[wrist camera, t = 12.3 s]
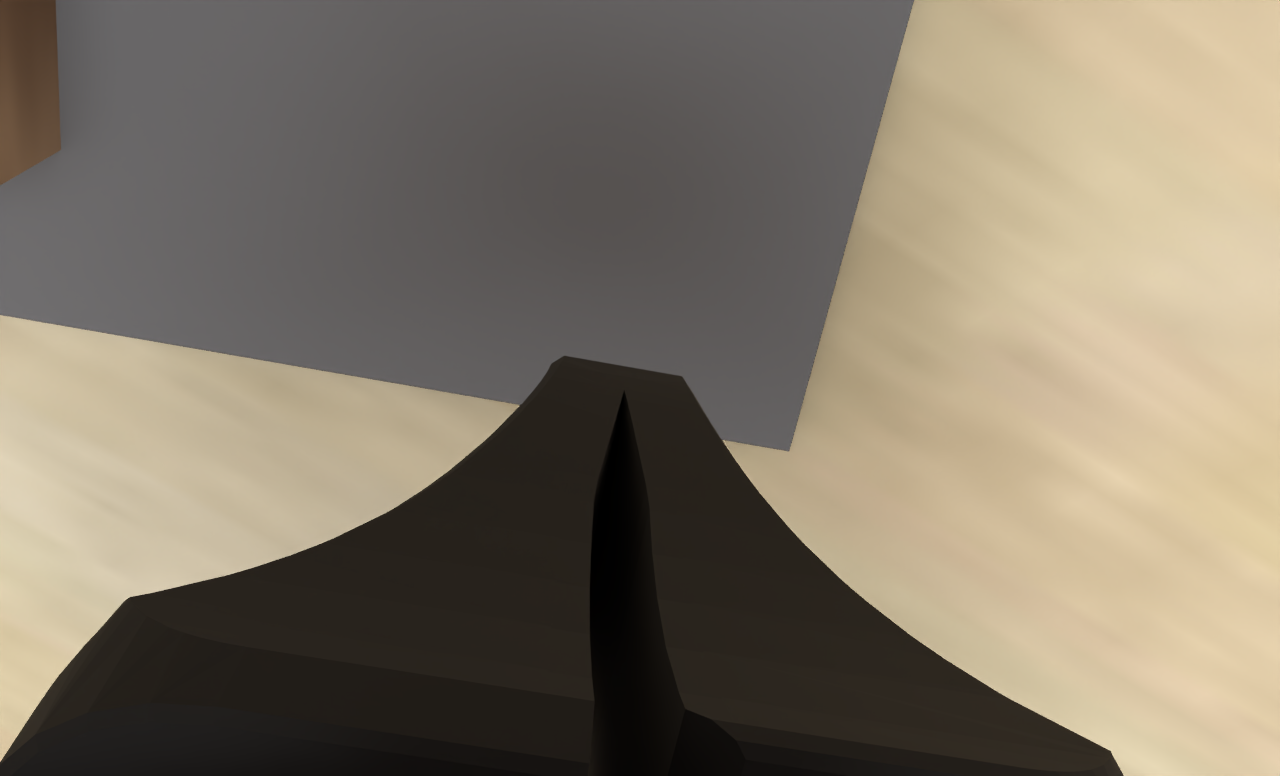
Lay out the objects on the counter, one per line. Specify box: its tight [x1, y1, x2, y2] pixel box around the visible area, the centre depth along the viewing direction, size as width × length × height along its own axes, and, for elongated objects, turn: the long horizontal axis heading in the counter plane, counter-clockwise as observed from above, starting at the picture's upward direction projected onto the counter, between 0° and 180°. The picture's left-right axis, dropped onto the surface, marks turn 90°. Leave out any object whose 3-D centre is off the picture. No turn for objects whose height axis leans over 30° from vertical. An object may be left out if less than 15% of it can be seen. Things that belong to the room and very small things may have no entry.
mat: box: [0, 0, 914, 451], centre depth 20 cm, size 13×23×1 cm, turn 80°
